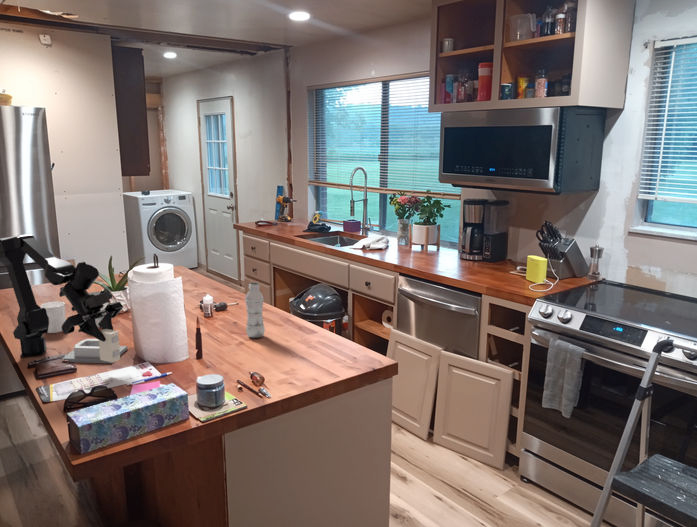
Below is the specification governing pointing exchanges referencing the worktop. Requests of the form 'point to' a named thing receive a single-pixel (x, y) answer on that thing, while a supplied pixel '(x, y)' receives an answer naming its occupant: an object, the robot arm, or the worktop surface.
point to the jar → (100, 309)
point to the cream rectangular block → (109, 346)
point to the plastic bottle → (254, 311)
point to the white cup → (55, 315)
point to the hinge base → (89, 359)
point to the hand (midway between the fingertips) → (109, 339)
